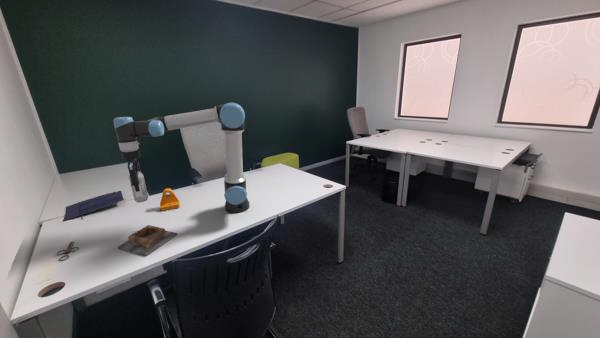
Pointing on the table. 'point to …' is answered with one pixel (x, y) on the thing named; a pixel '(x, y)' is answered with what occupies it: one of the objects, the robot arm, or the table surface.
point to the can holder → (147, 240)
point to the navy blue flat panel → (92, 204)
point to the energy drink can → (143, 188)
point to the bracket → (169, 200)
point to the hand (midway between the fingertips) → (140, 194)
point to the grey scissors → (67, 251)
